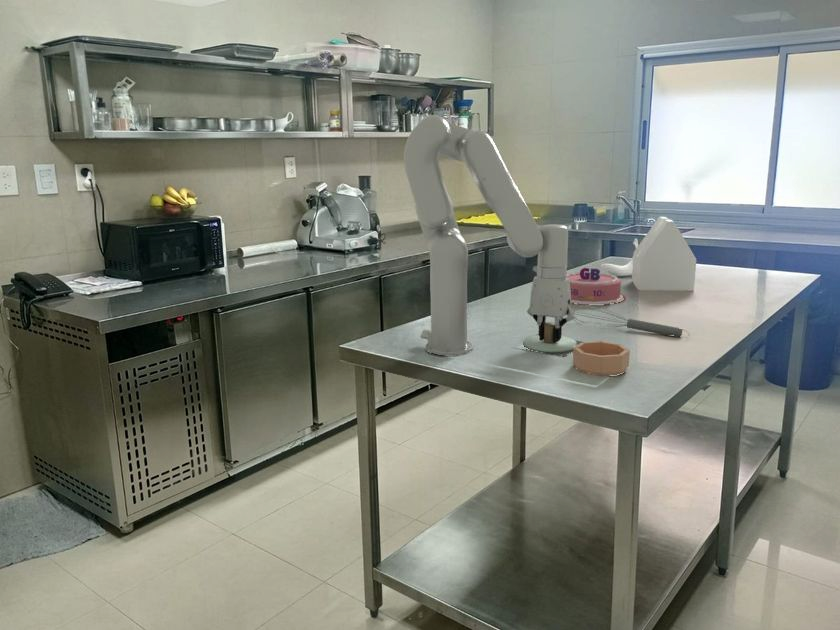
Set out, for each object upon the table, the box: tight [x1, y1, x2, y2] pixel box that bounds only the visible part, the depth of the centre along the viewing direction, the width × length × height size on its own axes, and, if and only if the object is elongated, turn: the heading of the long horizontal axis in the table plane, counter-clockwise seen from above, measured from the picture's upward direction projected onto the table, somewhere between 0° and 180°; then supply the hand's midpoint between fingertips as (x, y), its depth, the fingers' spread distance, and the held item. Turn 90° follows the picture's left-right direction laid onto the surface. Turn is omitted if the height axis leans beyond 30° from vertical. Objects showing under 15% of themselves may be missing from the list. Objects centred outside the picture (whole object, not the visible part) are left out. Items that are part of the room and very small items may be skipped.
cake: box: [567, 267, 627, 306], centre depth 232 cm, size 25×25×11 cm
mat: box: [536, 333, 583, 358], centre depth 178 cm, size 15×15×1 cm
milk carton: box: [631, 216, 697, 292], centre depth 246 cm, size 19×15×25 cm
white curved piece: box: [600, 238, 639, 277], centre depth 267 cm, size 5×19×15 cm, turn 113°
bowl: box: [572, 340, 631, 376], centre depth 159 cm, size 12×12×5 cm
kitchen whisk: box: [572, 304, 690, 337], centre depth 191 cm, size 6×34×6 cm, turn 57°
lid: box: [522, 321, 577, 353], centre depth 177 cm, size 14×14×6 cm
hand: (549, 339), depth 178 cm, fingers closed on lid, 3 cm apart
